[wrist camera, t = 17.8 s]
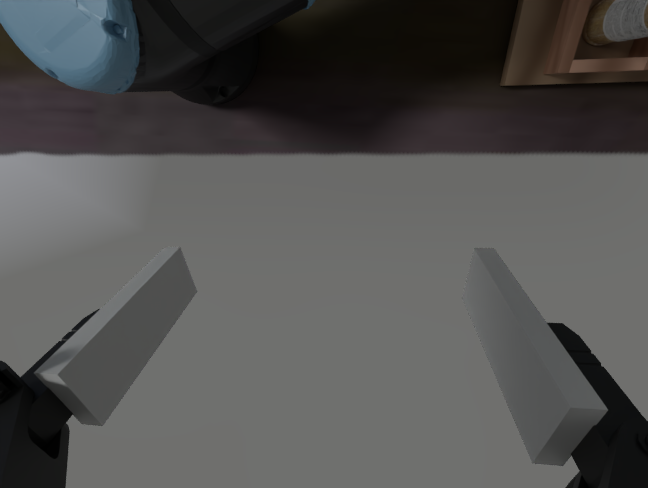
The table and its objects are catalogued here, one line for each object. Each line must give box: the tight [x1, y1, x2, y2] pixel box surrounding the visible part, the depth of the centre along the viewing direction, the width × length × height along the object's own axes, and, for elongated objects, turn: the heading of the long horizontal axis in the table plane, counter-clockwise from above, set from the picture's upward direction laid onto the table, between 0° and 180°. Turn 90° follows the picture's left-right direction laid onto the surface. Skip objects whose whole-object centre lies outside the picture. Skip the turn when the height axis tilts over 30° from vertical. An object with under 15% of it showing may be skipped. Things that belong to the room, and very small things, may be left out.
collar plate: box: [500, 0, 648, 86], centre depth 32 cm, size 18×12×4 cm, turn 92°
